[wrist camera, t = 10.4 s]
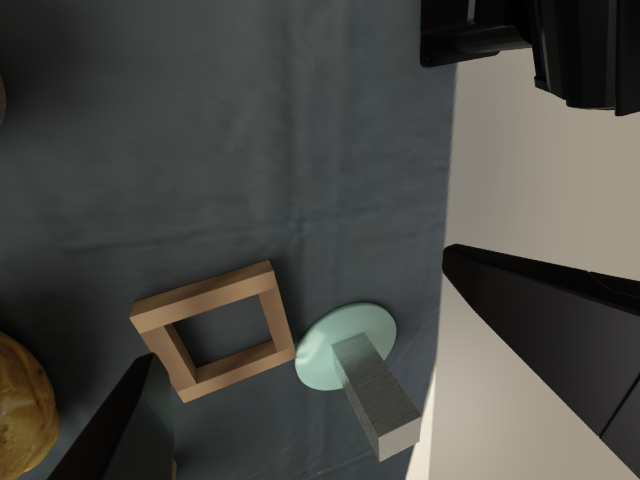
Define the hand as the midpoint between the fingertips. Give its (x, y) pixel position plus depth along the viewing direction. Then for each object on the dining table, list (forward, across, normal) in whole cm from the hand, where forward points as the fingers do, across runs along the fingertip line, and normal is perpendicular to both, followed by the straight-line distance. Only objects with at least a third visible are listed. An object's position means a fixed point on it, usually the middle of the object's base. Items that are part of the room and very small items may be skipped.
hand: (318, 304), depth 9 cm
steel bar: (+12, -5, +19) cm, 23 cm away
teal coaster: (+13, -5, +19) cm, 24 cm away
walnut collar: (+13, +5, +11) cm, 18 cm away
